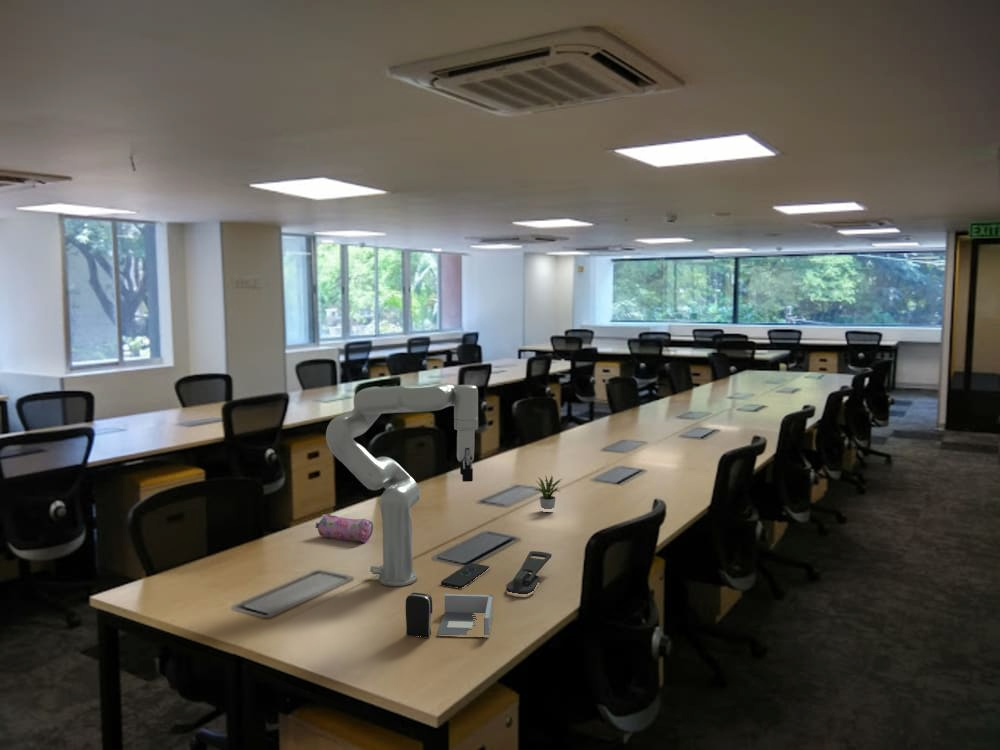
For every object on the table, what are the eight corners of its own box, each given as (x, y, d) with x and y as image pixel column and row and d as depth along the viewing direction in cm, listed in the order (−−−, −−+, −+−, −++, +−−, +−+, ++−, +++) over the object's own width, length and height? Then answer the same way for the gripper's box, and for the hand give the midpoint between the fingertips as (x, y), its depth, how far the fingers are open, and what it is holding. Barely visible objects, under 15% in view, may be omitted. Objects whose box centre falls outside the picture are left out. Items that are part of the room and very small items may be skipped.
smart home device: (490, 565, 251) (462, 585, 233) (490, 570, 251) (462, 590, 233) (469, 562, 254) (439, 581, 236) (469, 566, 254) (439, 586, 237)
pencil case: (314, 539, 284) (314, 516, 283) (329, 532, 292) (329, 510, 291) (361, 546, 275) (361, 522, 274) (375, 539, 284) (374, 516, 283)
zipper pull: (554, 553, 248) (529, 578, 225) (553, 572, 249) (529, 599, 225) (529, 549, 251) (502, 574, 228) (528, 568, 252) (502, 595, 229)
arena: (437, 636, 199) (437, 616, 199) (445, 612, 215) (445, 593, 214) (488, 638, 198) (488, 618, 198) (492, 613, 214) (492, 595, 214)
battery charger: (434, 633, 201) (434, 592, 200) (428, 639, 198) (428, 598, 196) (410, 630, 203) (410, 590, 202) (405, 635, 200) (404, 595, 199)
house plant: (565, 517, 314) (566, 479, 313) (533, 516, 315) (533, 479, 313) (563, 508, 328) (564, 472, 327) (532, 507, 329) (533, 471, 327)
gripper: (452, 420, 239) (452, 472, 241) (455, 428, 222) (456, 484, 223) (475, 419, 240) (475, 471, 241) (480, 428, 223) (480, 483, 224)
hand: (466, 477), depth 232 cm, fingers open, 9 cm apart
